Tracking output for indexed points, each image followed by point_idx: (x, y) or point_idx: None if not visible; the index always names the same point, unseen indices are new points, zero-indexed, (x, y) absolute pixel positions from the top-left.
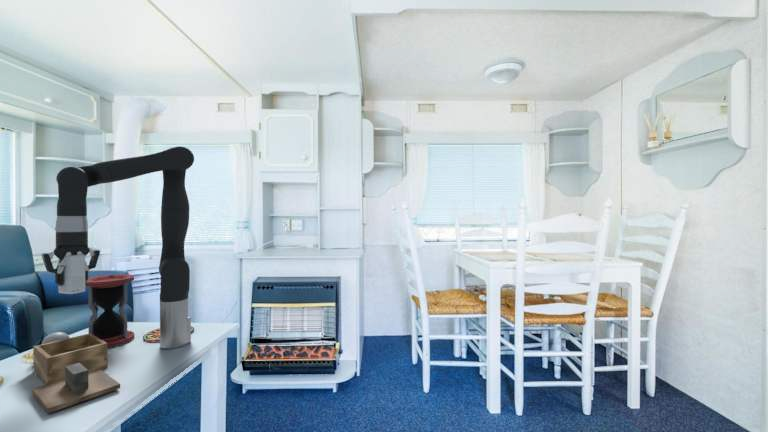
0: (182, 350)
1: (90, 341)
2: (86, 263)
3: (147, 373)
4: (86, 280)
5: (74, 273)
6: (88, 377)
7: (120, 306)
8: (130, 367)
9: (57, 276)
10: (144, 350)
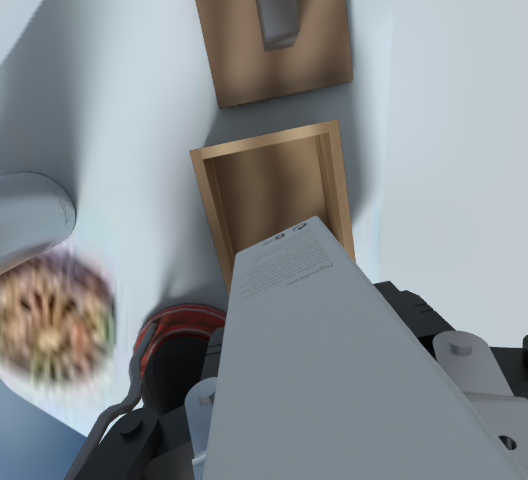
0: (15, 137)
1: (231, 261)
2: (194, 462)
3: (112, 10)
4: (222, 329)
5: (322, 290)
6: (245, 54)
7: (130, 406)
8: (152, 103)
9: (441, 328)
10: (115, 220)
